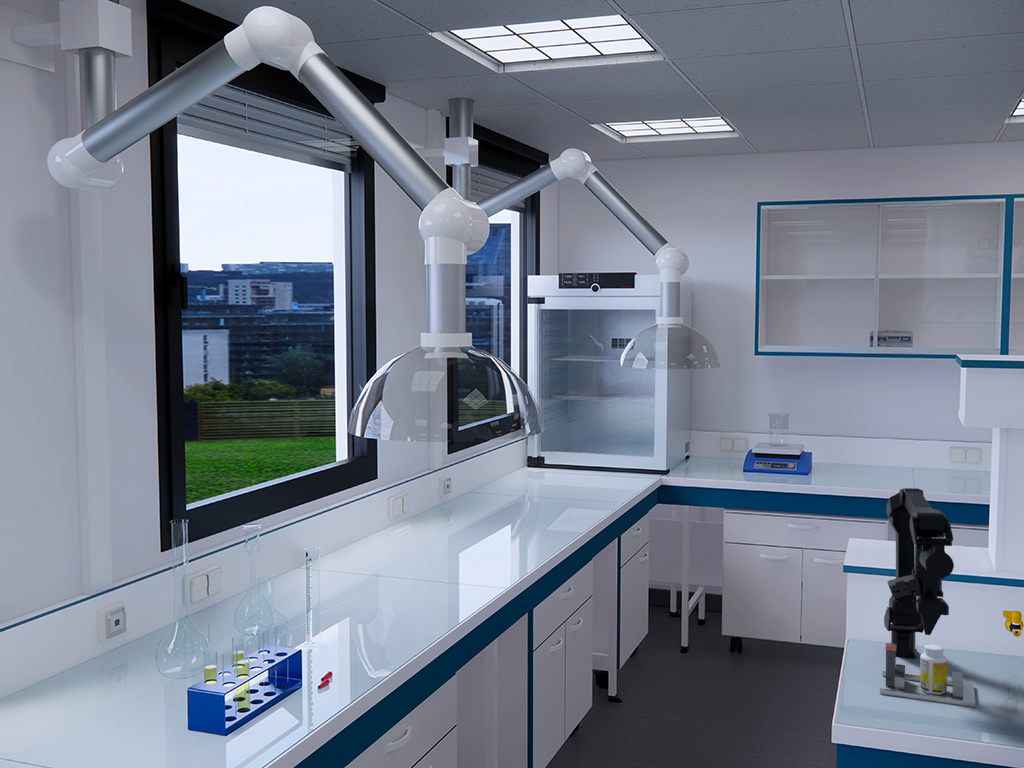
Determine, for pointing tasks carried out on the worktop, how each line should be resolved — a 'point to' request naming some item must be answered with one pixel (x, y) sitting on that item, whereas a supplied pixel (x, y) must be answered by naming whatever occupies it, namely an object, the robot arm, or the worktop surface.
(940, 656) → the supplement bottle
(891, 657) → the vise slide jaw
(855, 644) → the worktop surface
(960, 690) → the frame
